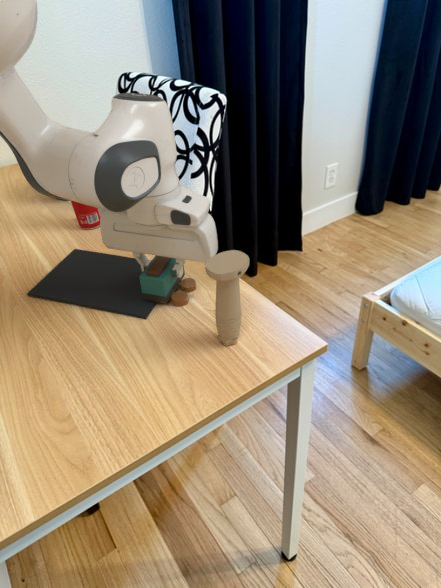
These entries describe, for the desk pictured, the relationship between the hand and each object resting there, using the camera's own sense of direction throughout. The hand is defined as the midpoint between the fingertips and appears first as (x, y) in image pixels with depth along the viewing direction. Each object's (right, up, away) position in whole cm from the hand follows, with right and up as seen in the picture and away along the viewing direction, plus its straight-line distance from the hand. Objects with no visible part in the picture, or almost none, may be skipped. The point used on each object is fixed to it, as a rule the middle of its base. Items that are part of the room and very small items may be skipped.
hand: (162, 273), depth 77 cm
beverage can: (-20, +12, +24) cm, 33 cm away
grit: (+4, -3, +3) cm, 6 cm away
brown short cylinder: (+3, -5, 0) cm, 6 cm away
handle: (+12, -11, -8) cm, 18 cm away
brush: (0, -2, +2) cm, 3 cm away
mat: (-11, -1, +5) cm, 13 cm away
